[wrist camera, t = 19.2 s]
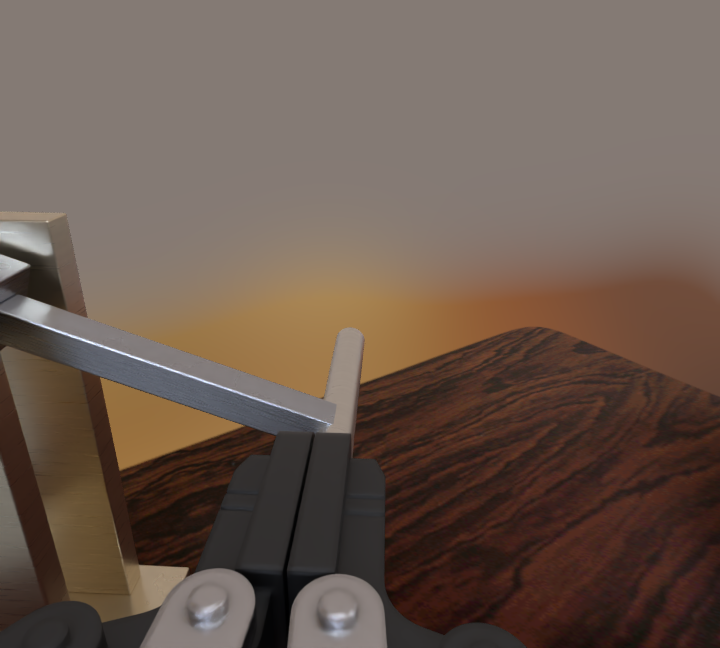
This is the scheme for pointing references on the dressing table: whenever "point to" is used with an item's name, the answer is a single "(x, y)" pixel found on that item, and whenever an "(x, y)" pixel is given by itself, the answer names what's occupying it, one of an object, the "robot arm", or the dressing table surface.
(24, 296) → the tap lever
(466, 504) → the dressing table surface
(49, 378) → the bracket
